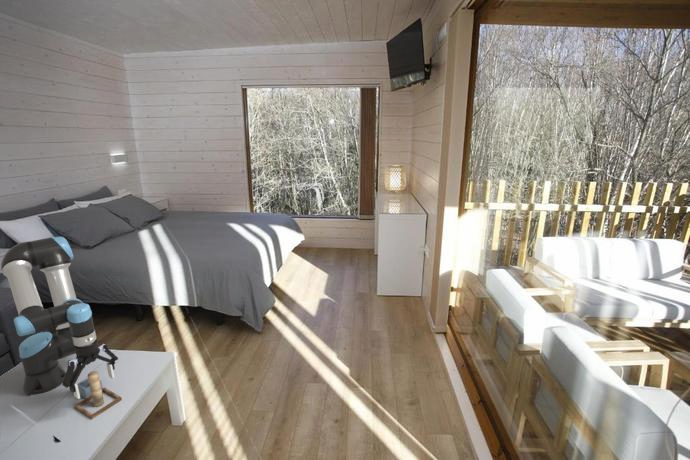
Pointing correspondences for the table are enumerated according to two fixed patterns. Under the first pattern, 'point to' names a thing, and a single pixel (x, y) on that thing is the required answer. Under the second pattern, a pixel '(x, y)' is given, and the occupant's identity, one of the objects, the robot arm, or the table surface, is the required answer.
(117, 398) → the brown wooden frame
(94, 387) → the pestle
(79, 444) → the table surface
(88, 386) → the blue grey open box
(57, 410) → the table surface
